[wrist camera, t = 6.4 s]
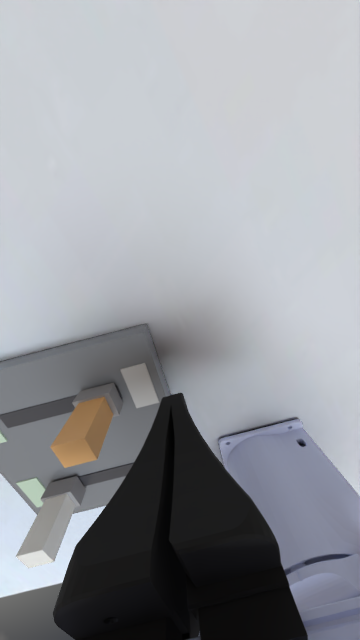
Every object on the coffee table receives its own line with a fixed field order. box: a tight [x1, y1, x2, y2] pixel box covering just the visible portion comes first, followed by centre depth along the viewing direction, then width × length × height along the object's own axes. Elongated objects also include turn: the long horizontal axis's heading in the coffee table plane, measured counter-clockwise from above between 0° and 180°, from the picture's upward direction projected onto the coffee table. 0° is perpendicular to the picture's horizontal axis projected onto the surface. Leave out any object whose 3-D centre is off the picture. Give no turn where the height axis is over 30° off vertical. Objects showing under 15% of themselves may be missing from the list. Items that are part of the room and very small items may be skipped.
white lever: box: [16, 476, 86, 568], centre depth 15 cm, size 3×2×4 cm
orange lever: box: [50, 383, 123, 468], centre depth 12 cm, size 3×2×4 cm
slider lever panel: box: [0, 324, 170, 515], centre depth 17 cm, size 17×18×2 cm
